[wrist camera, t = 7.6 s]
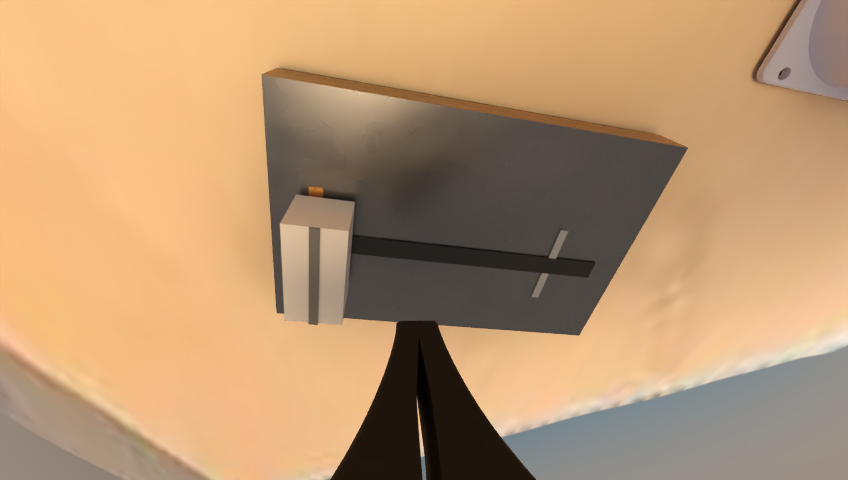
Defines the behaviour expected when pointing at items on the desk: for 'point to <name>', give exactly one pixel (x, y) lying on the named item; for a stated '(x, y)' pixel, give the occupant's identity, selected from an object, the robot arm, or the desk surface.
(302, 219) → the fader knob
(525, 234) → the fader console
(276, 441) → the desk surface
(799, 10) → the robot arm
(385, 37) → the desk surface
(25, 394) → the desk surface
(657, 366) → the desk surface
